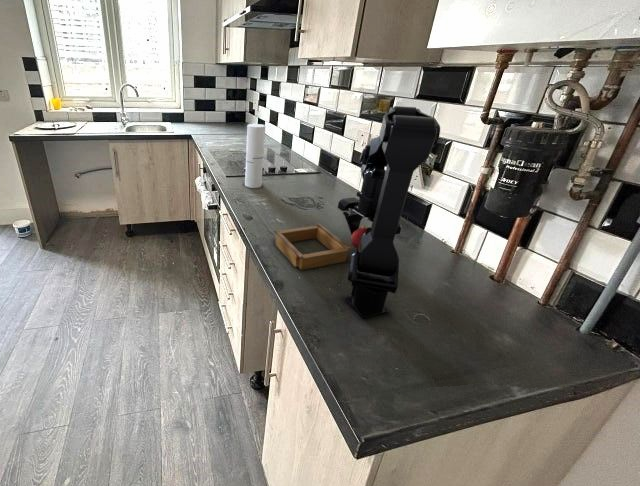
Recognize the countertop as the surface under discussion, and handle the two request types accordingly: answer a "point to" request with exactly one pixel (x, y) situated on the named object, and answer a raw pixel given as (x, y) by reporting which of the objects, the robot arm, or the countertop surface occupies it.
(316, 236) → the square wooden frame
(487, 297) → the countertop surface
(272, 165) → the countertop surface
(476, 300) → the countertop surface
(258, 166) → the cylindrical container
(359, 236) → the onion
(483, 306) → the countertop surface
